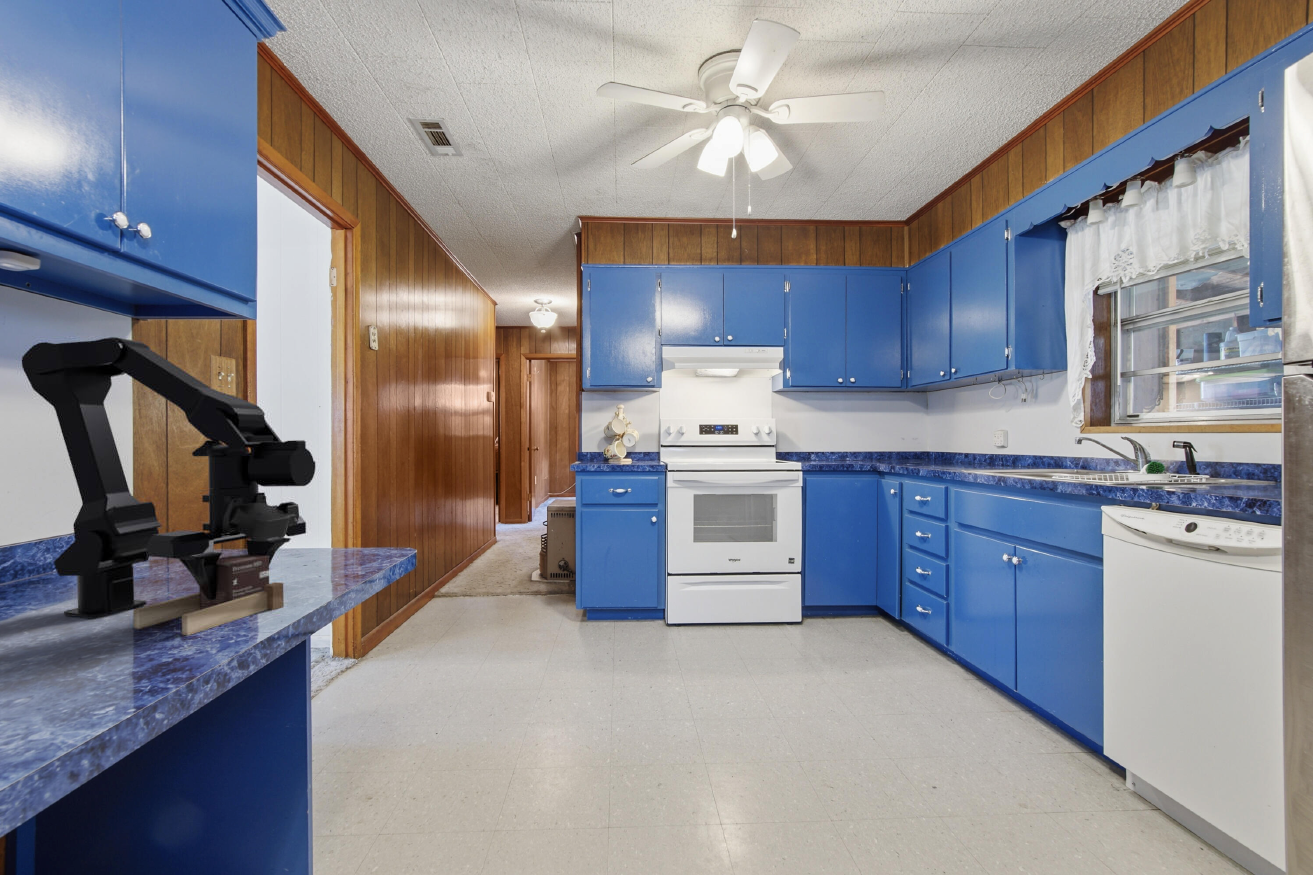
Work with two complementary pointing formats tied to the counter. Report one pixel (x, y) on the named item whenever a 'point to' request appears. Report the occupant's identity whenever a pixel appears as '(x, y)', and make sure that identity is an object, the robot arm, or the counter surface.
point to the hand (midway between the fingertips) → (235, 592)
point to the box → (238, 578)
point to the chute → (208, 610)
